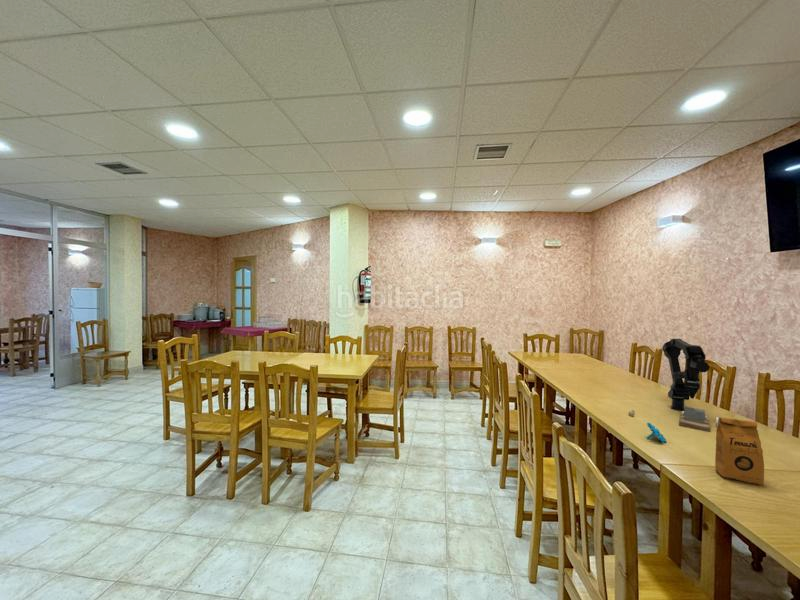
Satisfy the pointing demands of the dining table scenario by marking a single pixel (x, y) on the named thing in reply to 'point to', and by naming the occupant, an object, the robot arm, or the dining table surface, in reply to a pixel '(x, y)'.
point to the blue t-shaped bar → (655, 433)
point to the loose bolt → (631, 413)
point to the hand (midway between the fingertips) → (691, 396)
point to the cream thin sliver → (717, 421)
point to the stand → (694, 424)
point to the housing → (694, 415)
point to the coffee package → (739, 451)
